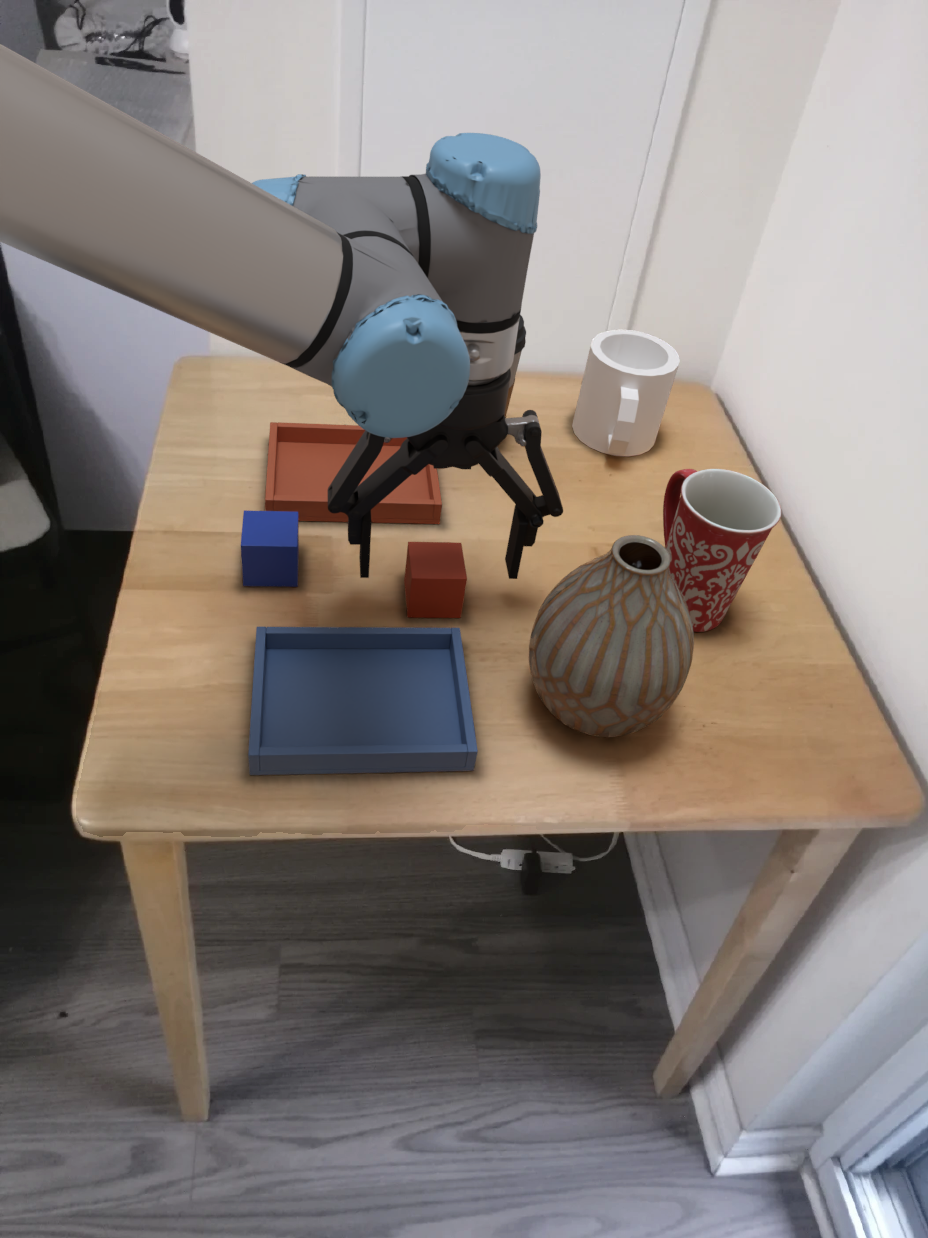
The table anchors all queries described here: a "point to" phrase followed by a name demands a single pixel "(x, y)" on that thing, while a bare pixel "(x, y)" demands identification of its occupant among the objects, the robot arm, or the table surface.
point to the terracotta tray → (313, 460)
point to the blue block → (270, 548)
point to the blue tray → (360, 701)
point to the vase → (613, 641)
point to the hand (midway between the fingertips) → (438, 568)
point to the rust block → (434, 580)
